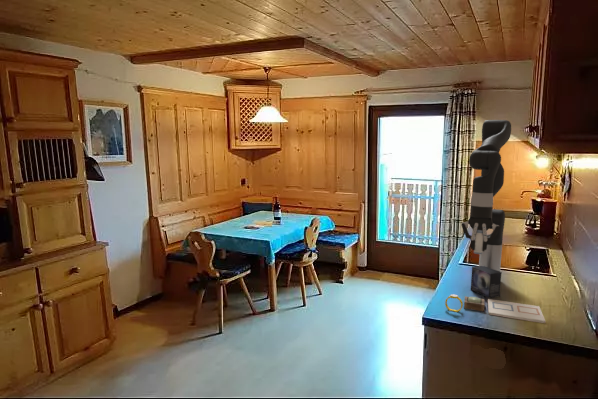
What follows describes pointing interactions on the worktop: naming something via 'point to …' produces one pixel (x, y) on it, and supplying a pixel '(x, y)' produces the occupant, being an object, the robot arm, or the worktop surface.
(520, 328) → the worktop surface
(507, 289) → the worktop surface
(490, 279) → the small box
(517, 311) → the colouring board
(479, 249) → the marker
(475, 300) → the button
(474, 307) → the button housing
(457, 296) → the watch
